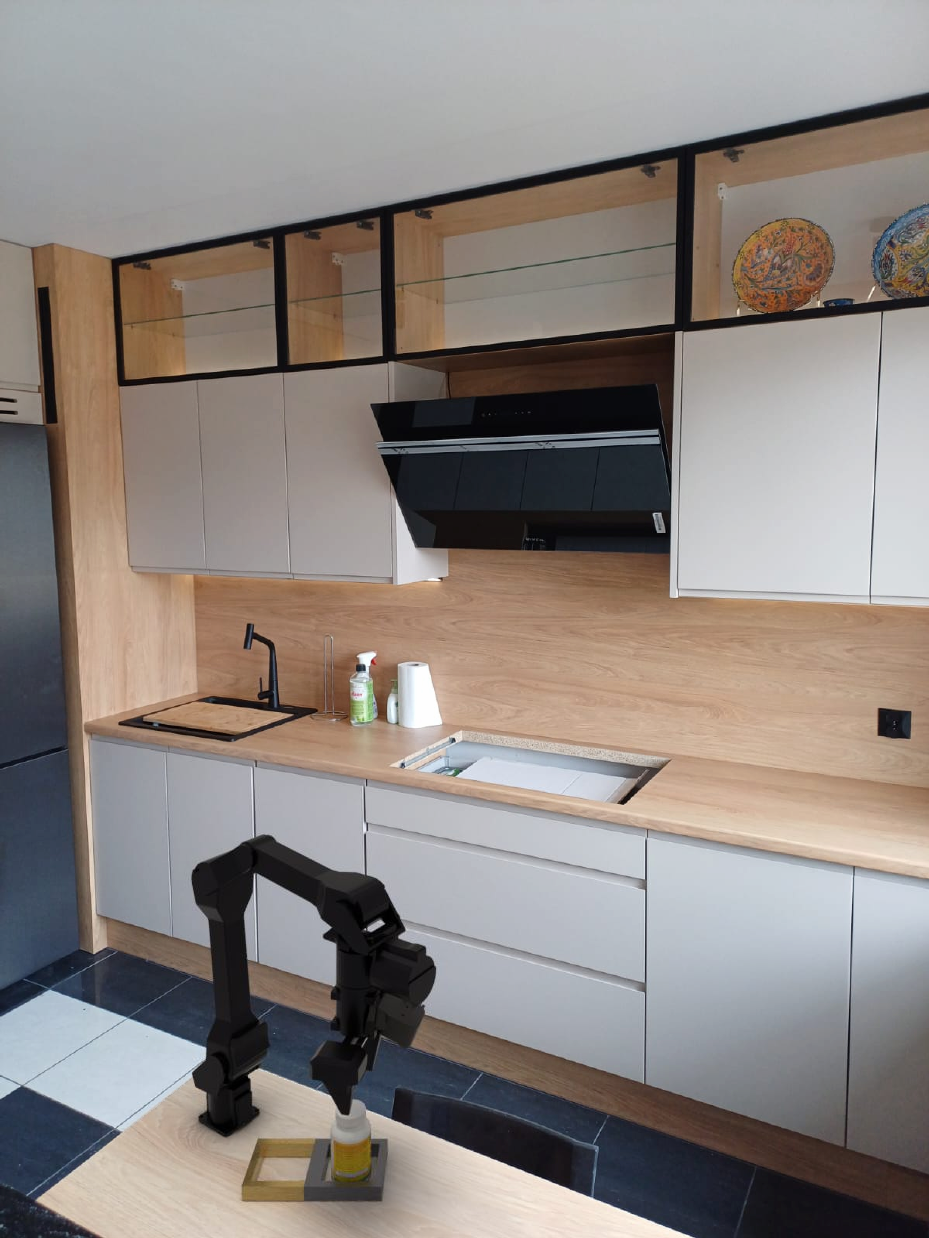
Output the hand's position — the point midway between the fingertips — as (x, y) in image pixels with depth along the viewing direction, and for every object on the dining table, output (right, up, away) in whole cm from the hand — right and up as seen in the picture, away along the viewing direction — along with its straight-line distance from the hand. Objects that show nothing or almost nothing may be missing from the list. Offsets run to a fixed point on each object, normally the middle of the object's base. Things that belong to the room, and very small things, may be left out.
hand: (357, 1091), depth 114 cm
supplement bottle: (-1, -13, +3) cm, 14 cm away
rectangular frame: (-6, -13, +3) cm, 14 cm away
